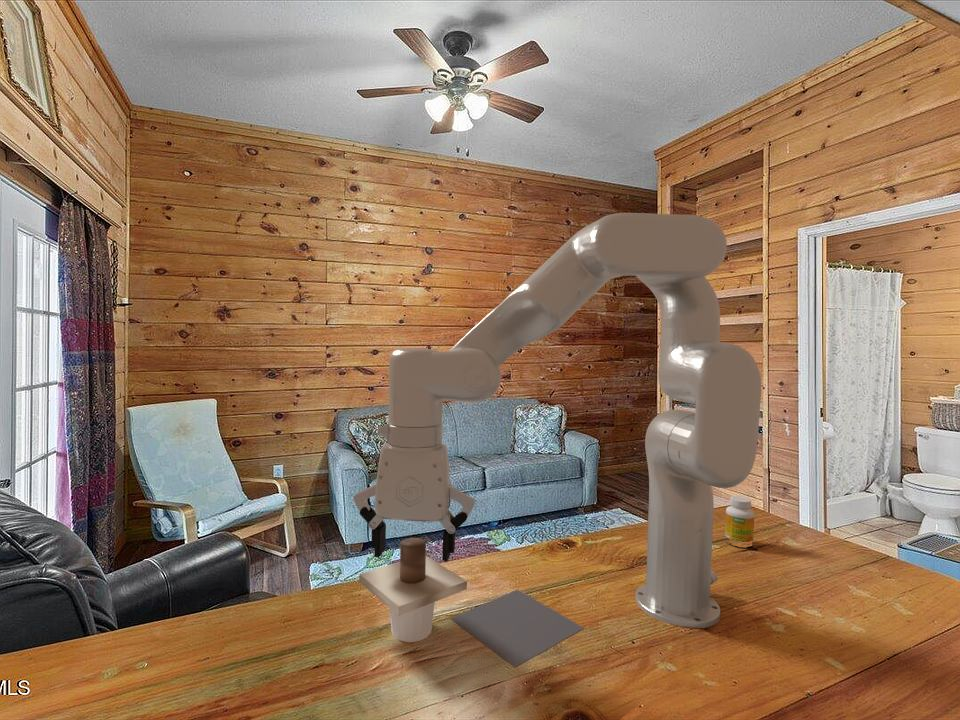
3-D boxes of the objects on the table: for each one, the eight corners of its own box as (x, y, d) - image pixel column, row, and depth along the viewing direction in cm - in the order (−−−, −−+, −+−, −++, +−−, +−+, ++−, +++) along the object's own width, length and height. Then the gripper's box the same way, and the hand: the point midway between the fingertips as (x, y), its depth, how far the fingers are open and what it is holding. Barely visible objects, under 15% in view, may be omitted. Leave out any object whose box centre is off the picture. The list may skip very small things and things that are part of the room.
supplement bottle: (729, 547, 103) (731, 501, 103) (721, 537, 109) (722, 493, 108) (757, 550, 102) (759, 503, 102) (747, 539, 108) (749, 495, 107)
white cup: (427, 651, 67) (428, 600, 67) (379, 644, 68) (380, 594, 68) (441, 623, 74) (442, 577, 73) (397, 617, 75) (398, 571, 75)
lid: (423, 561, 78) (424, 522, 78) (466, 589, 70) (467, 546, 70) (359, 582, 71) (359, 539, 71) (398, 615, 63) (399, 567, 63)
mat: (517, 592, 83) (517, 589, 83) (584, 631, 72) (584, 628, 72) (449, 621, 74) (449, 618, 74) (514, 670, 63) (515, 666, 63)
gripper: (346, 438, 67) (344, 563, 68) (473, 444, 65) (470, 571, 66) (364, 429, 74) (362, 541, 75) (478, 433, 73) (476, 548, 73)
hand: (413, 555), depth 70 cm, fingers open, 9 cm apart
